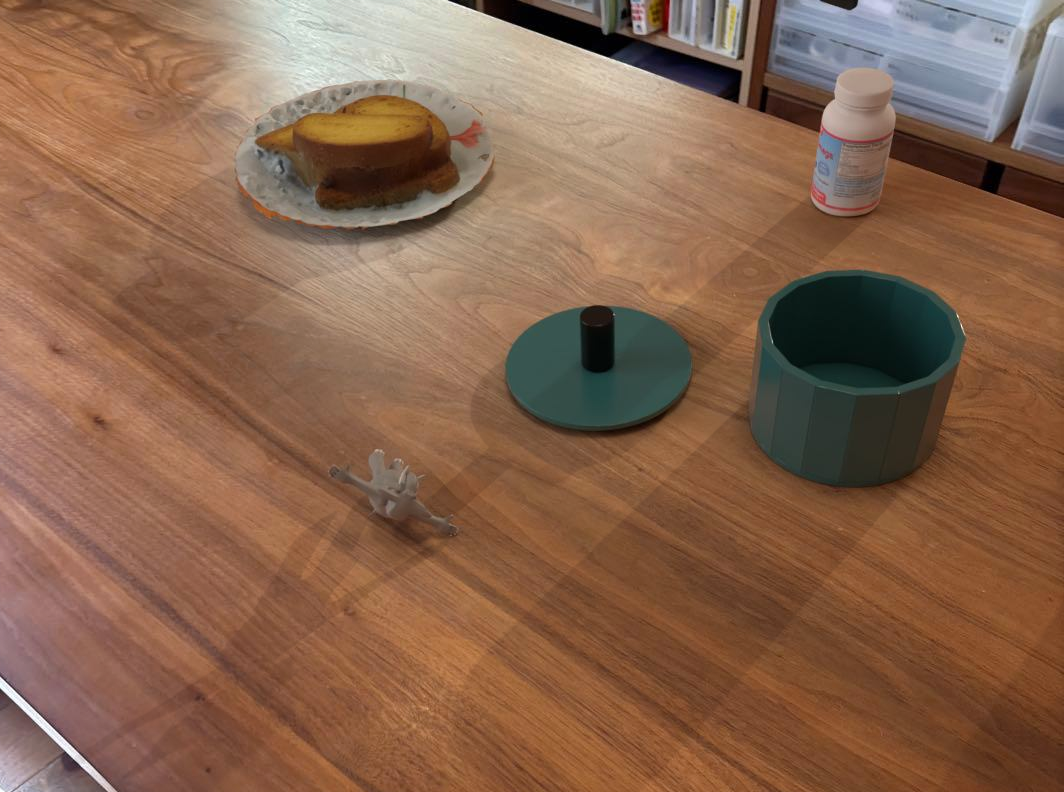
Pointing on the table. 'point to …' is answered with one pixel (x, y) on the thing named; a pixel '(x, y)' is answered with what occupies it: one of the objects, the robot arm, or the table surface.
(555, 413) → the lid
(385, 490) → the grey monster figurine
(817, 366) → the pot
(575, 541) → the table surface
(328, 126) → the food on plate
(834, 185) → the pill bottle
